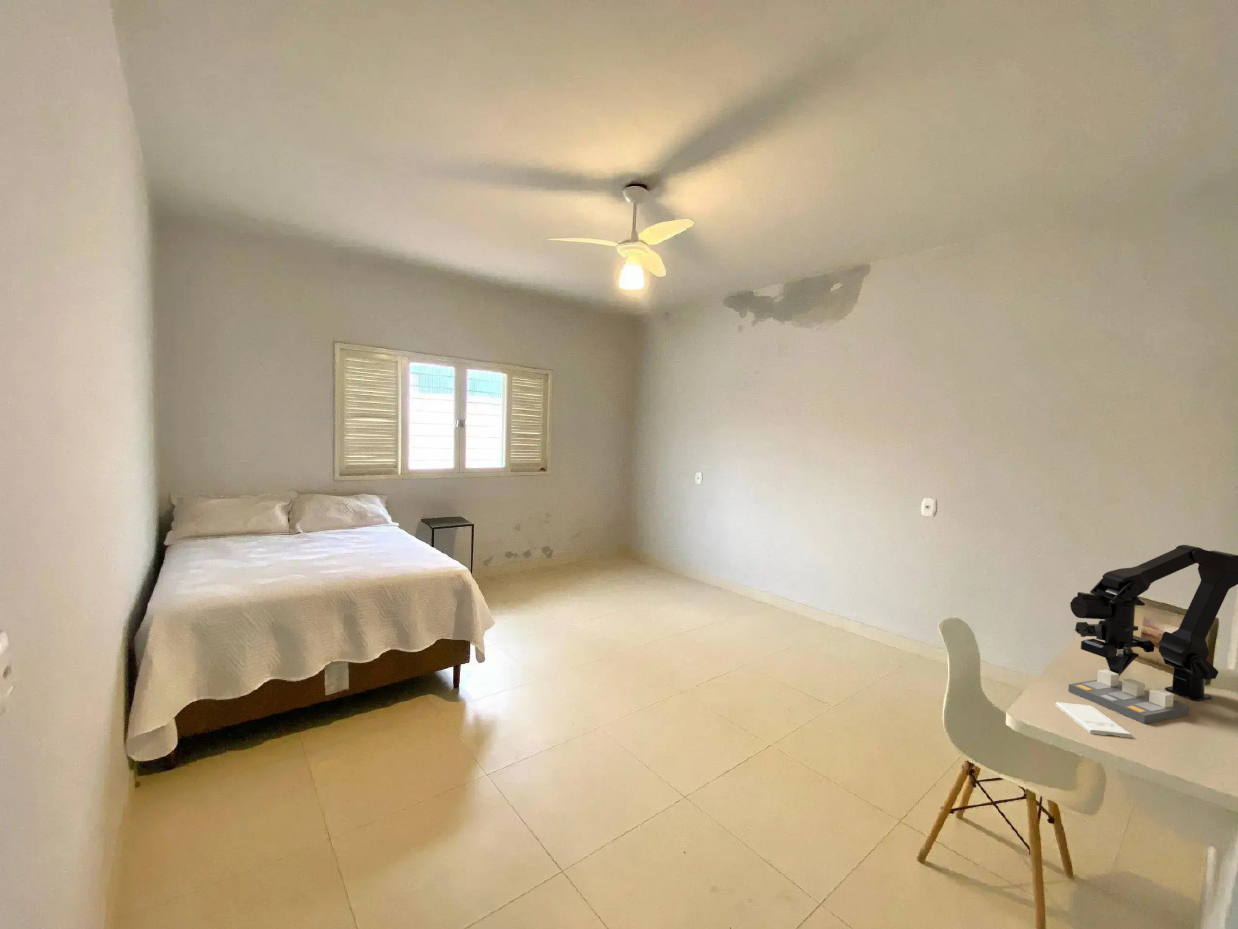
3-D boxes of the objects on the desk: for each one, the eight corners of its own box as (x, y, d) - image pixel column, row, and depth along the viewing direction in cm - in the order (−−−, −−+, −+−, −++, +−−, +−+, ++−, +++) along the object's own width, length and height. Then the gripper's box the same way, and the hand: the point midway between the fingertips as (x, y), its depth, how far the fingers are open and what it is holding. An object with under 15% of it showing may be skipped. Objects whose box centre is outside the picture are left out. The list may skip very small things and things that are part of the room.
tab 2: (1129, 689, 133) (1130, 678, 132) (1144, 695, 130) (1145, 683, 130) (1121, 691, 132) (1122, 679, 132) (1136, 696, 129) (1137, 685, 129)
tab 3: (1157, 700, 127) (1157, 688, 127) (1172, 706, 124) (1173, 694, 124) (1148, 701, 126) (1149, 689, 126) (1164, 707, 124) (1165, 695, 123)
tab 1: (1104, 680, 138) (1105, 669, 138) (1118, 685, 135) (1119, 674, 135) (1097, 681, 137) (1097, 670, 137) (1110, 686, 134) (1111, 675, 134)
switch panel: (1110, 684, 140) (1110, 677, 140) (1188, 714, 125) (1189, 706, 124) (1068, 691, 136) (1068, 683, 136) (1144, 723, 120) (1144, 715, 120)
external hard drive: (1092, 712, 127) (1132, 740, 114) (1054, 708, 128) (1089, 736, 116) (1092, 705, 126) (1132, 733, 114) (1055, 701, 128) (1090, 729, 116)
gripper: (1107, 607, 146) (1104, 660, 147) (1060, 612, 141) (1057, 667, 142) (1157, 621, 136) (1153, 678, 136) (1108, 626, 131) (1104, 685, 131)
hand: (1115, 676), depth 137 cm, fingers closed
